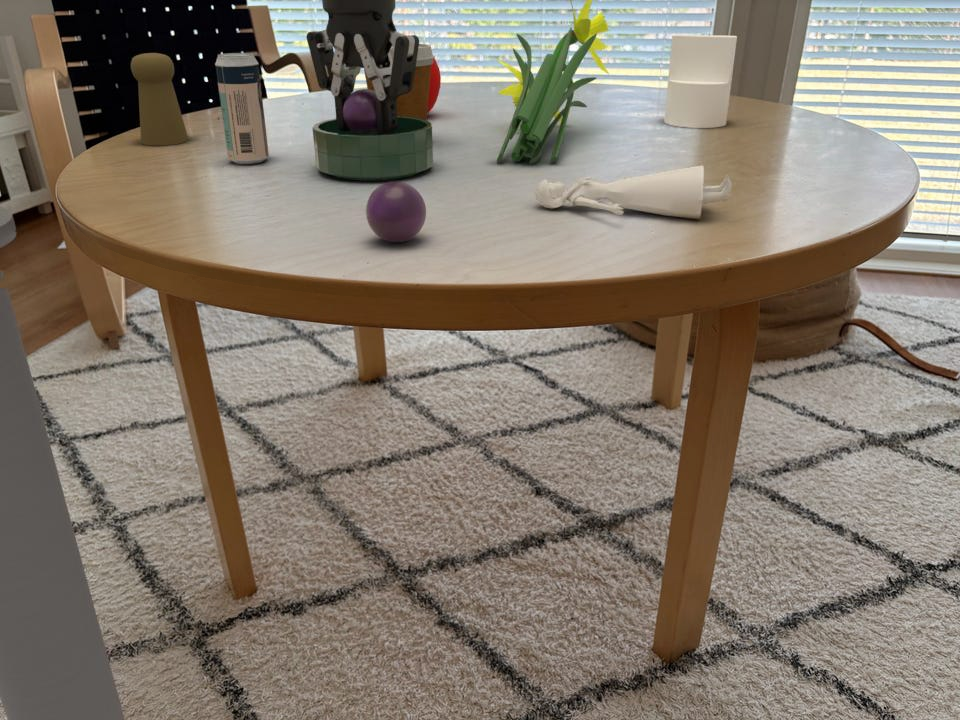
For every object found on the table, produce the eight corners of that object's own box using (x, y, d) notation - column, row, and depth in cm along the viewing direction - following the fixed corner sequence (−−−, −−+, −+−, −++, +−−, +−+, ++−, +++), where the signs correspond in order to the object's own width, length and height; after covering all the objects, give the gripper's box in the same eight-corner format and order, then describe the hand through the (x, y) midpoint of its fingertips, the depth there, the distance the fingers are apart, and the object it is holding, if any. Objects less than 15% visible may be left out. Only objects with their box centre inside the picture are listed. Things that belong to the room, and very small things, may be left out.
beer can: (277, 159, 98) (266, 53, 93) (248, 167, 94) (235, 57, 89) (249, 155, 100) (236, 51, 95) (219, 162, 97) (204, 55, 92)
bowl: (330, 187, 86) (326, 139, 83) (307, 162, 97) (303, 119, 94) (448, 177, 90) (447, 130, 88) (414, 154, 101) (412, 112, 99)
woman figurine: (737, 180, 68) (525, 185, 72) (734, 232, 70) (527, 234, 74) (727, 152, 79) (542, 158, 82) (724, 198, 81) (543, 201, 84)
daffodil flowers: (434, 166, 98) (498, 57, 124) (537, 229, 101) (578, 109, 126) (501, 49, 87) (556, -45, 112) (615, 123, 89) (643, 15, 115)
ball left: (350, 141, 87) (346, 93, 85) (340, 133, 92) (336, 87, 89) (395, 138, 89) (392, 90, 87) (383, 130, 93) (381, 85, 91)
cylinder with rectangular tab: (659, 125, 119) (667, 37, 113) (669, 116, 126) (677, 32, 121) (722, 129, 116) (734, 39, 110) (729, 119, 123) (739, 34, 118)
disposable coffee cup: (451, 144, 107) (449, 46, 101) (390, 153, 101) (385, 50, 96) (410, 133, 113) (406, 41, 108) (350, 142, 108) (344, 45, 103)
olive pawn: (197, 138, 111) (184, 51, 106) (170, 146, 105) (155, 56, 101) (159, 135, 112) (145, 50, 107) (131, 144, 107) (114, 55, 102)
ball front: (376, 253, 66) (372, 192, 64) (361, 236, 70) (357, 178, 68) (434, 246, 68) (433, 186, 65) (417, 229, 72) (415, 173, 70)
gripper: (279, -38, 83) (296, 132, 91) (388, -39, 76) (397, 145, 84) (329, -38, 89) (341, 122, 97) (435, -39, 82) (439, 133, 89)
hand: (367, 132), depth 90 cm, fingers closed on ball left, 5 cm apart
